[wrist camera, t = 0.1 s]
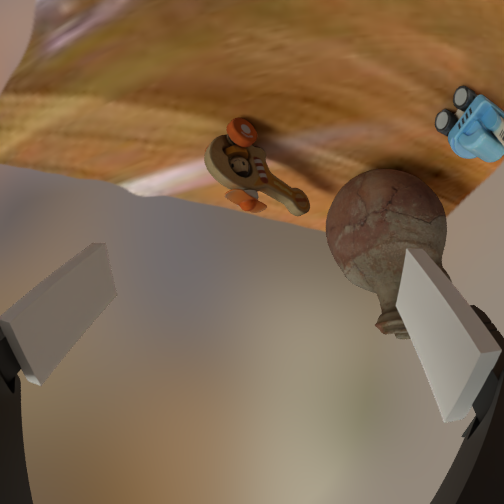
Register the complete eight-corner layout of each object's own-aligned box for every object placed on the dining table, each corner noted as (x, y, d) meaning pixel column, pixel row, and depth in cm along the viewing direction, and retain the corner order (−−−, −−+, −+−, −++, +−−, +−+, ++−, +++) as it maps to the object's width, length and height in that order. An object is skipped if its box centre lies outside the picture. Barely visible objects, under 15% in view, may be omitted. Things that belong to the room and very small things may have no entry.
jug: (301, 169, 55) (302, 336, 40) (411, 124, 43) (470, 299, 28) (350, 229, 69) (359, 363, 54) (439, 200, 57) (472, 340, 42)
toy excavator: (513, 78, 30) (572, 150, 21) (463, 142, 44) (499, 220, 35) (481, 50, 28) (546, 119, 19) (429, 123, 42) (465, 204, 33)
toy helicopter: (229, 108, 45) (215, 168, 38) (322, 173, 55) (327, 235, 48) (201, 138, 51) (183, 199, 44) (291, 194, 61) (290, 254, 54)
